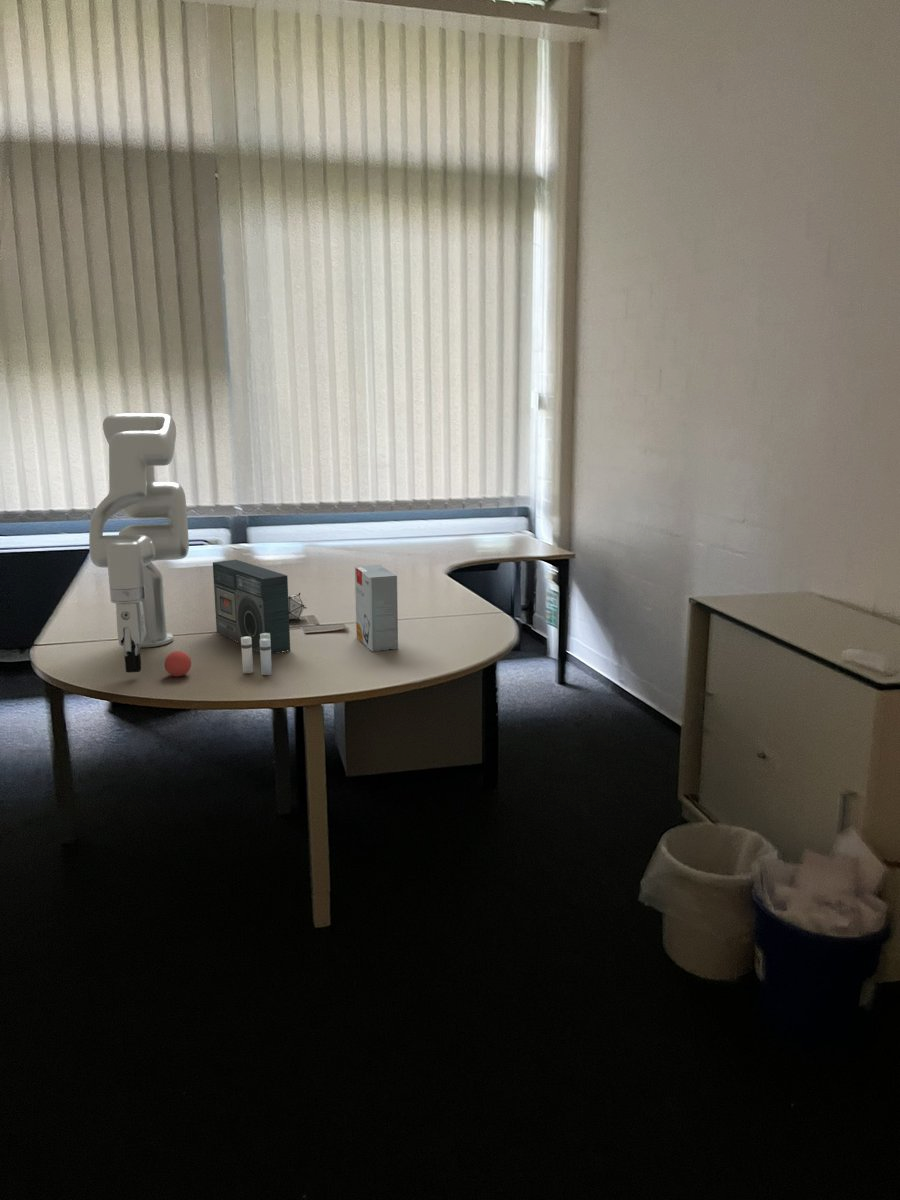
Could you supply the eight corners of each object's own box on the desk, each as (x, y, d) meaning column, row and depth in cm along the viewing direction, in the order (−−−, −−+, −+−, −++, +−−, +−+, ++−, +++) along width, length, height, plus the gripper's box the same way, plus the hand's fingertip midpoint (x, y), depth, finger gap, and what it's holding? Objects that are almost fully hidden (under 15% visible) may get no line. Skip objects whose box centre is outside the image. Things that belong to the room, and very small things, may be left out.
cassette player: (216, 632, 249) (212, 562, 245) (239, 628, 253) (236, 559, 249) (266, 655, 227) (262, 579, 223) (290, 651, 231) (287, 575, 227)
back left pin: (259, 667, 217) (258, 633, 215) (269, 665, 218) (268, 632, 216) (263, 670, 215) (262, 636, 213) (273, 668, 216) (271, 634, 214)
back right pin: (259, 673, 212) (257, 639, 210) (269, 672, 213) (267, 637, 211) (263, 676, 210) (261, 641, 208) (273, 674, 211) (271, 640, 209)
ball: (162, 674, 211) (160, 650, 210) (187, 670, 214) (186, 646, 213) (169, 681, 206) (167, 656, 205) (195, 677, 209) (193, 652, 208)
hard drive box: (355, 637, 244) (354, 566, 240) (382, 634, 247) (381, 564, 242) (370, 652, 230) (369, 576, 226) (399, 649, 233) (398, 574, 228)
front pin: (241, 671, 214) (239, 637, 212) (251, 669, 215) (249, 635, 213) (244, 674, 211) (242, 639, 210) (254, 672, 213) (253, 638, 211)
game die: (297, 630, 265) (314, 602, 267) (293, 627, 257) (311, 598, 258) (271, 615, 266) (289, 586, 267) (266, 611, 257) (285, 582, 259)
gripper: (140, 600, 197) (146, 679, 201) (149, 587, 212) (154, 661, 216) (104, 601, 196) (111, 681, 200) (115, 588, 210) (122, 663, 214)
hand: (133, 670), depth 208 cm, fingers closed
